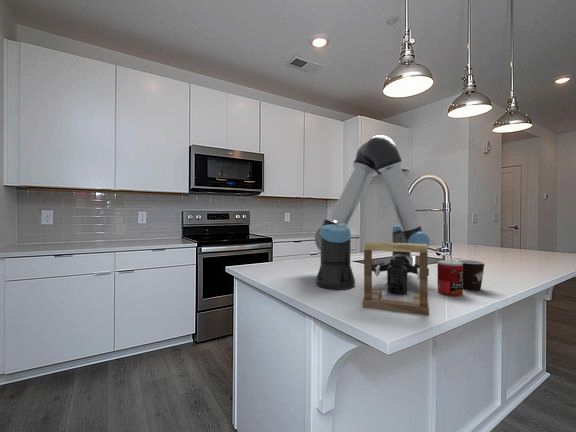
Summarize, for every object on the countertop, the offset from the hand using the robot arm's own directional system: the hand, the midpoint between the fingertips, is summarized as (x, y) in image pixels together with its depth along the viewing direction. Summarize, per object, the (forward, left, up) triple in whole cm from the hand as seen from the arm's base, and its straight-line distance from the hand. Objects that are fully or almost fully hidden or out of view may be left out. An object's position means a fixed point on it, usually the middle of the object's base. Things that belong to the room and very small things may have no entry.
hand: (397, 273), depth 101 cm
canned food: (+17, +9, -7) cm, 20 cm away
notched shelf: (0, -10, -7) cm, 12 cm away
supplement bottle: (0, +3, -7) cm, 8 cm away
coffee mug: (+23, +18, -7) cm, 30 cm away
